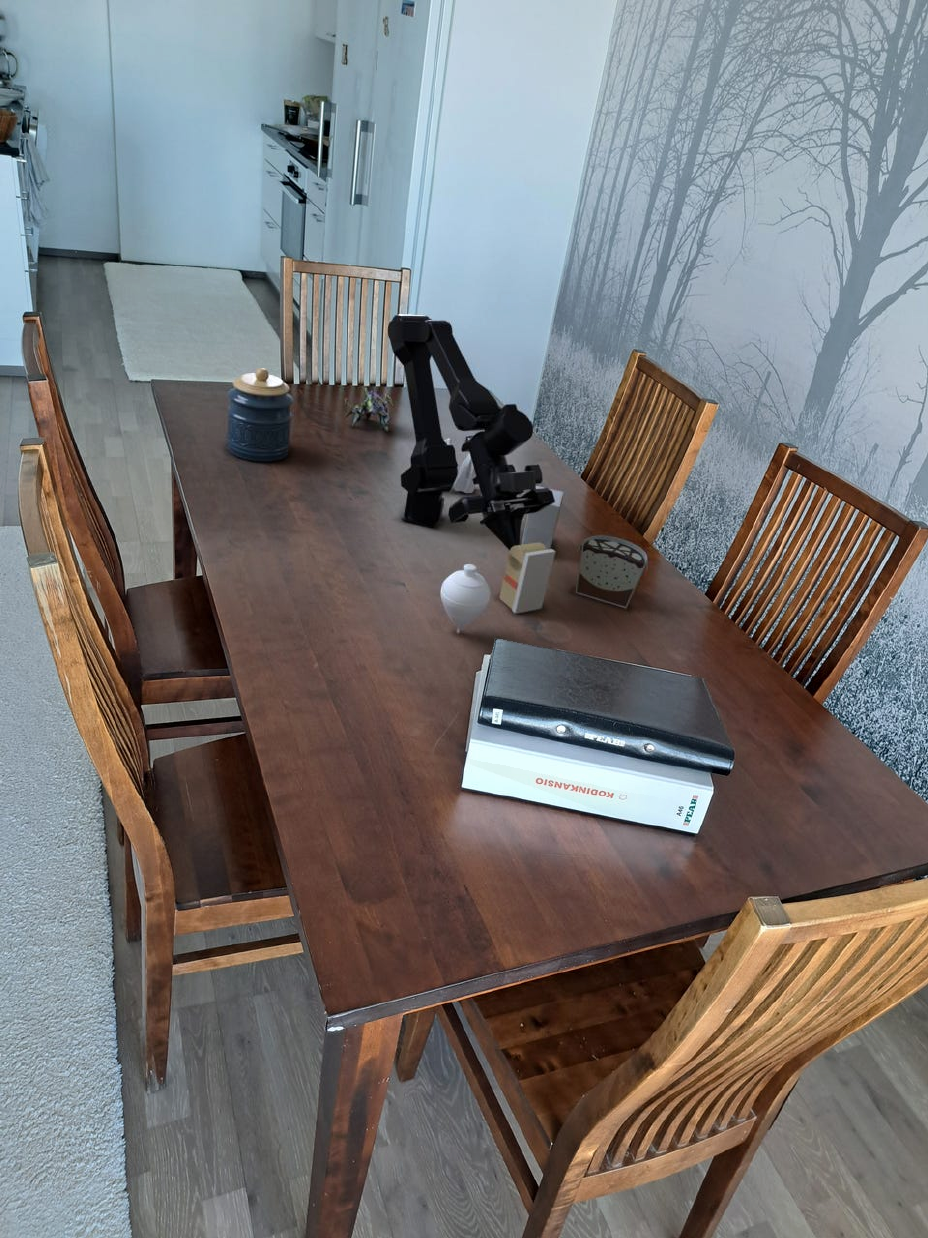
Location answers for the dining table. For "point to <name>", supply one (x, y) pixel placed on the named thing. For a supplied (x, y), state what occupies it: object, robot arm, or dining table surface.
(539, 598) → the cream two-tone block
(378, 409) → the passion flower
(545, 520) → the small box
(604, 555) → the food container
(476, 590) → the spinning top
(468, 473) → the shaker set
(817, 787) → the dining table surface
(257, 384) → the canister
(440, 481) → the robot arm
